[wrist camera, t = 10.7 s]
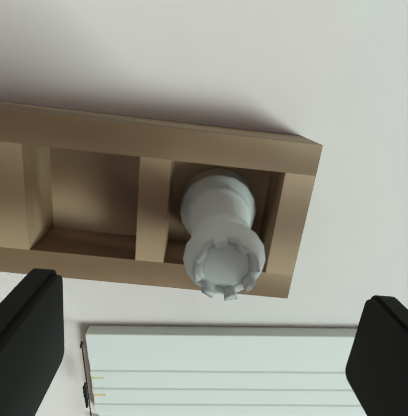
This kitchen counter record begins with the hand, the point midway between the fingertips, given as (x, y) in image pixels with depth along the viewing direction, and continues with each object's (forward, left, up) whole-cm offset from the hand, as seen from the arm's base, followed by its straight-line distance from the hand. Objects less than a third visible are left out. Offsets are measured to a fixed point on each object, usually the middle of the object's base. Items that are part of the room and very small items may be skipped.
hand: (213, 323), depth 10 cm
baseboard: (-13, -8, -12) cm, 20 cm away
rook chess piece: (0, 0, -11) cm, 11 cm away
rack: (+1, +7, -11) cm, 13 cm away
